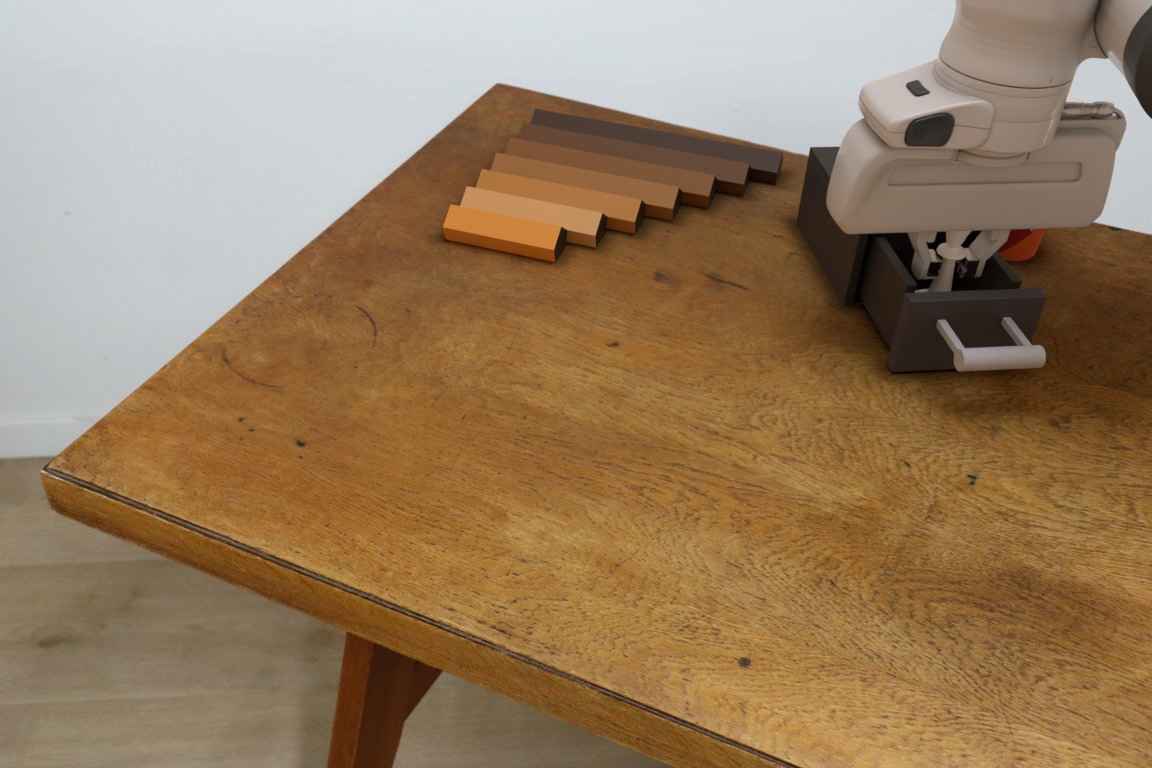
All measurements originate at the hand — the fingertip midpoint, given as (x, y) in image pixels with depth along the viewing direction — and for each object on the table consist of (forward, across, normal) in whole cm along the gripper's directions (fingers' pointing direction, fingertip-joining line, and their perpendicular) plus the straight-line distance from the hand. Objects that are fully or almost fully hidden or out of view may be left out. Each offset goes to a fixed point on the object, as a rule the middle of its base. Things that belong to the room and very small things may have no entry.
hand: (944, 274), depth 85 cm
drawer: (+5, 0, +2) cm, 5 cm away
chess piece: (+4, 0, 0) cm, 4 cm away
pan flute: (+6, +21, -22) cm, 31 cm away
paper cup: (+6, -12, -12) cm, 18 cm away
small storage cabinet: (+6, 0, -10) cm, 12 cm away
